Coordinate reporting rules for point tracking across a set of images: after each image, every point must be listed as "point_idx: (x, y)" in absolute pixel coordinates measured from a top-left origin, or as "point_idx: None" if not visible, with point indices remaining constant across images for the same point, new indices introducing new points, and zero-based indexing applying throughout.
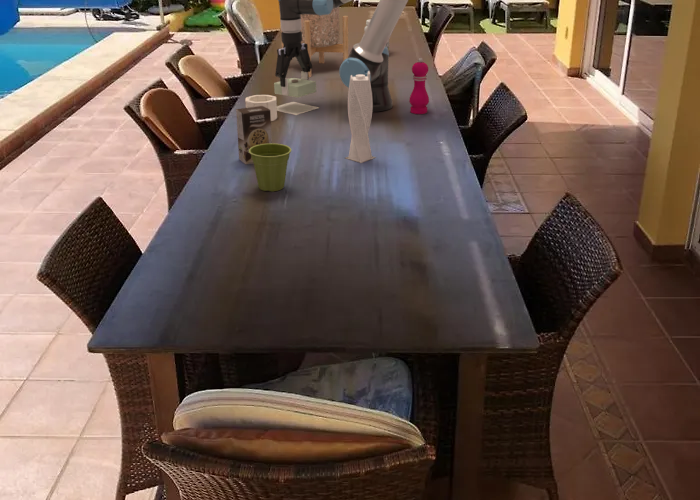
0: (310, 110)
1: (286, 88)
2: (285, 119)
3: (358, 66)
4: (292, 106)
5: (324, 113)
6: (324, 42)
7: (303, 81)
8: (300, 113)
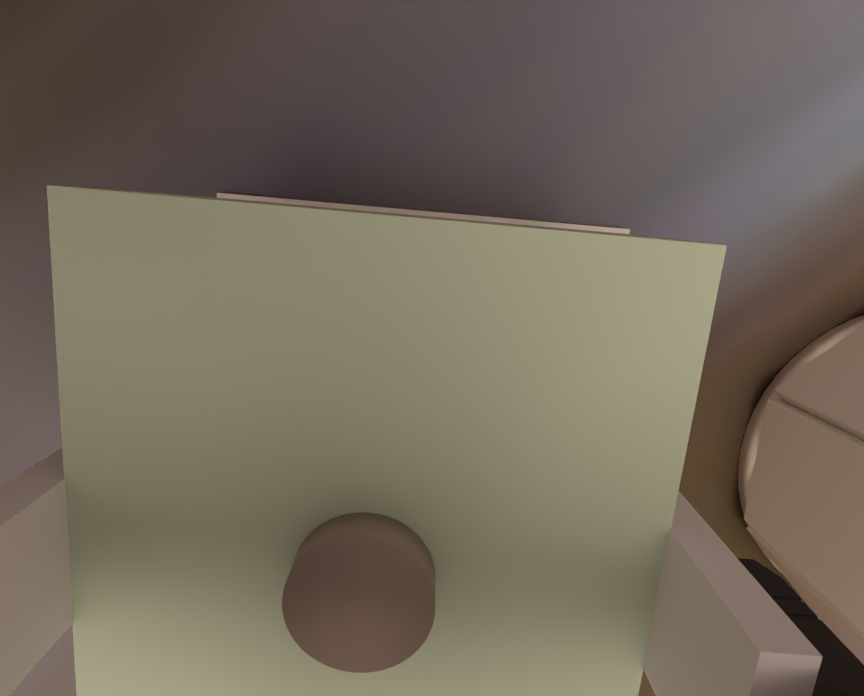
0: (379, 207)
1: (684, 513)
2: (794, 247)
3: None
4: None
5: (348, 9)
6: None
7: (217, 449)
8: (548, 226)
